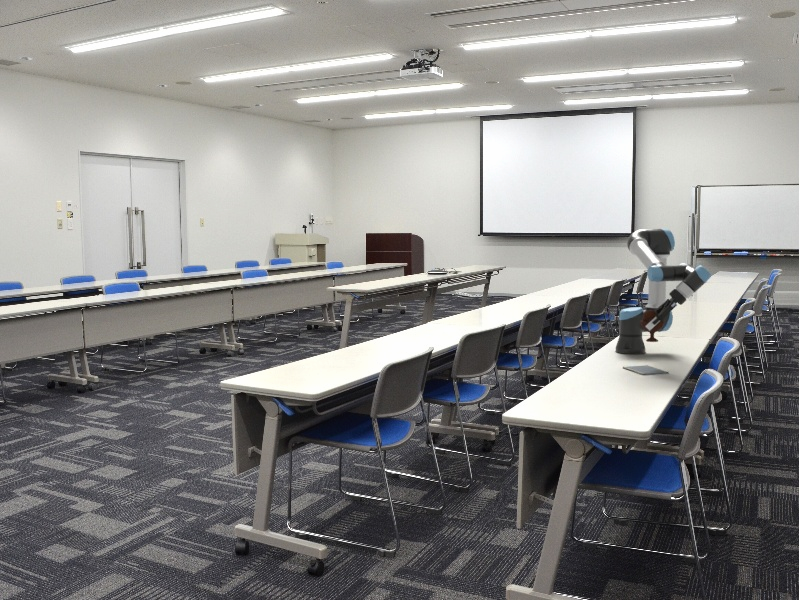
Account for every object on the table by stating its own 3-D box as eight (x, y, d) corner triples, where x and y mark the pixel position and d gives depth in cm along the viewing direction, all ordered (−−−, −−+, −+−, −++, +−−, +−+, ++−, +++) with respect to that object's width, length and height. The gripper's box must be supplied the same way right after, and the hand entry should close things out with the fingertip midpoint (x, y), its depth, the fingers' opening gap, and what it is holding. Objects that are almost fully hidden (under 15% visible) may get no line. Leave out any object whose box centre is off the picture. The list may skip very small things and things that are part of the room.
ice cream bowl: (666, 342, 329) (666, 310, 328) (641, 342, 331) (641, 310, 330) (662, 339, 339) (662, 308, 338) (638, 339, 341) (638, 308, 340)
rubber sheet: (622, 368, 335) (622, 366, 335) (647, 366, 338) (647, 365, 338) (642, 375, 319) (642, 373, 318) (668, 373, 321) (668, 371, 321)
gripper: (692, 301, 319) (655, 336, 323) (682, 297, 342) (647, 329, 346) (679, 289, 320) (643, 324, 324) (670, 286, 342) (636, 318, 347)
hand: (645, 327), depth 335 cm, fingers closed on ice cream bowl, 11 cm apart
